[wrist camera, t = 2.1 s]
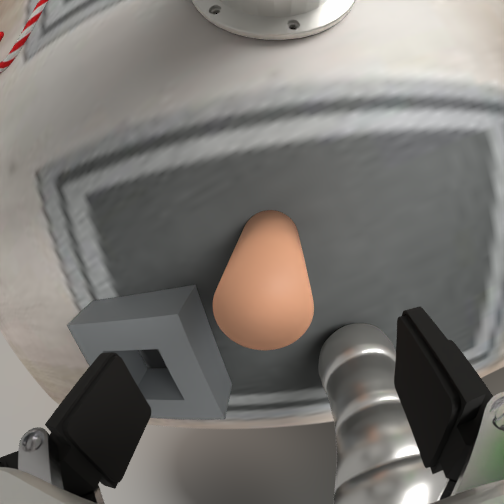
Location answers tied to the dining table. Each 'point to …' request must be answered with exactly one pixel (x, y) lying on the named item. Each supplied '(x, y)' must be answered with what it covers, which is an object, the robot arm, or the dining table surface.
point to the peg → (265, 286)
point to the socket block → (160, 349)
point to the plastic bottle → (372, 423)
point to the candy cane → (23, 35)
